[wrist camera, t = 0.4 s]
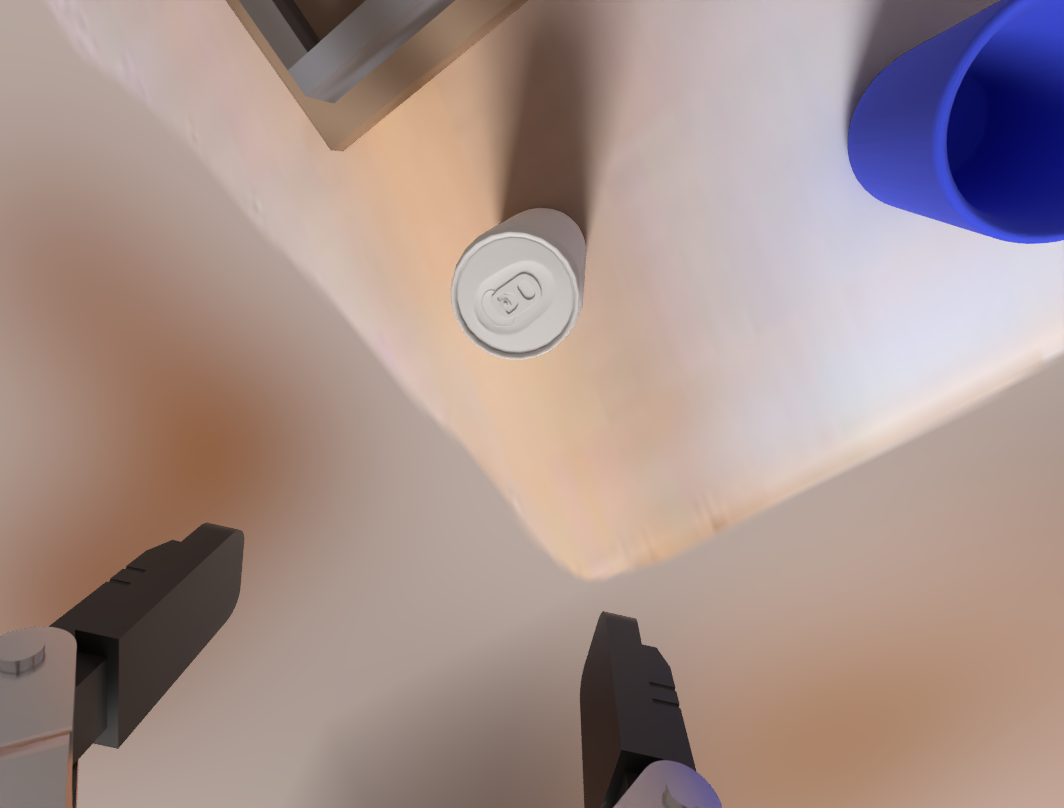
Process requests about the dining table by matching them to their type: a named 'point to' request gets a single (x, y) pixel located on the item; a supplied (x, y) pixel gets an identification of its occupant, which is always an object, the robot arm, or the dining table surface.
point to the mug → (973, 125)
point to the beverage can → (521, 284)
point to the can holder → (363, 52)
